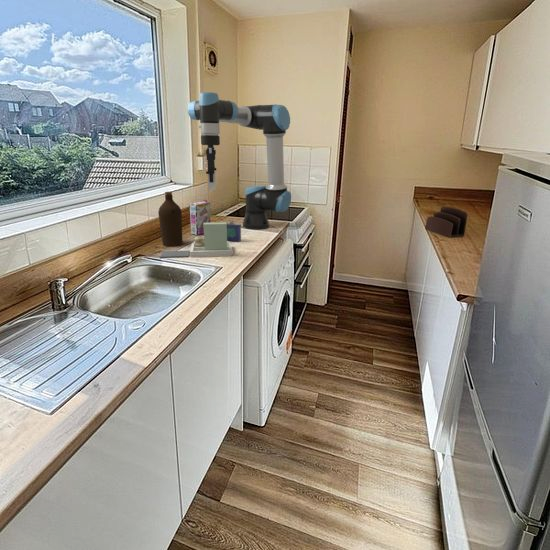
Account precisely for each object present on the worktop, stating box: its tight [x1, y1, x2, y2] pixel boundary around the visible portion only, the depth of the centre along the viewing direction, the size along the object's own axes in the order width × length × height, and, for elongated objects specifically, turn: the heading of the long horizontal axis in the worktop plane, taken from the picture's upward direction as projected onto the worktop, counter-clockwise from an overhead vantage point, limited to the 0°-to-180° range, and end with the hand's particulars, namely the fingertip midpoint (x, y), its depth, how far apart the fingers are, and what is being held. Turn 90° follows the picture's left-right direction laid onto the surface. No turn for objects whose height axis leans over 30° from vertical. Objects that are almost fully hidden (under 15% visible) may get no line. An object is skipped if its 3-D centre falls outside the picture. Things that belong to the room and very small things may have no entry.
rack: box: [189, 241, 233, 258], centre depth 171 cm, size 18×14×2 cm
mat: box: [159, 250, 190, 259], centre depth 166 cm, size 12×8×1 cm, turn 98°
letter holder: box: [425, 206, 469, 239], centre depth 210 cm, size 10×20×14 cm, turn 20°
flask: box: [226, 219, 242, 243], centre depth 187 cm, size 9×3×11 cm, turn 75°
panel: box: [203, 221, 228, 251], centre depth 166 cm, size 10×3×14 cm, turn 98°
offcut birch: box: [194, 236, 204, 246], centre depth 172 cm, size 6×4×3 cm
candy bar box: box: [189, 201, 211, 236], centre depth 199 cm, size 11×5×16 cm, turn 149°
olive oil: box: [158, 191, 184, 247], centre depth 177 cm, size 11×11×25 cm
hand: (212, 188), depth 158 cm, fingers open, 13 cm apart
